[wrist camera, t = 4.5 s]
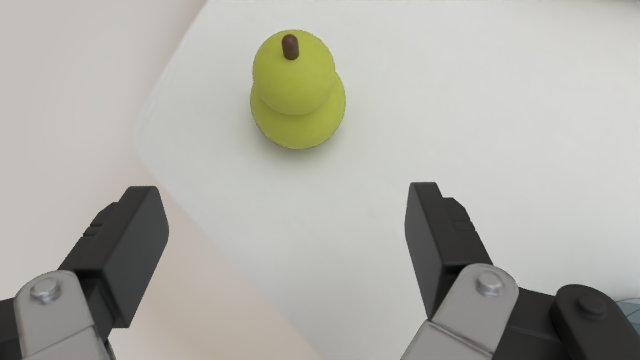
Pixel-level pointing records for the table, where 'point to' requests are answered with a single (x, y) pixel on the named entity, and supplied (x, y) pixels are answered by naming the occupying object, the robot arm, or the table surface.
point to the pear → (296, 90)
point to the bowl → (631, 311)
